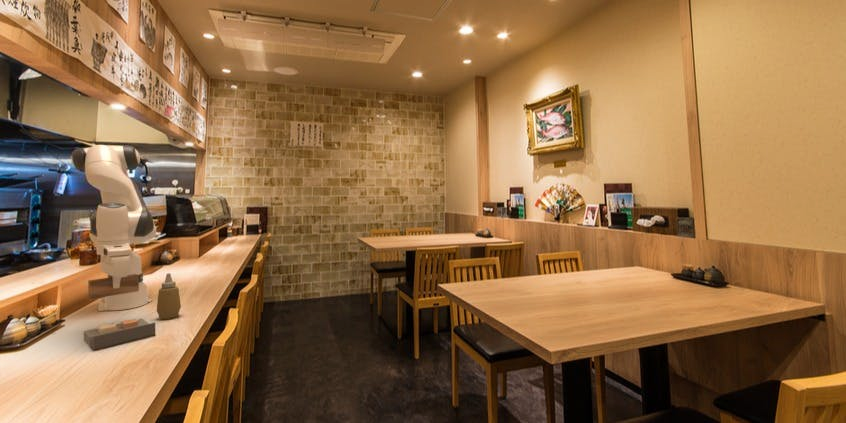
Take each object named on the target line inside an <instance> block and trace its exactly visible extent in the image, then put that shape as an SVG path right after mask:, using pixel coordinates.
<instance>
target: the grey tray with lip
mask: <svg viewBox="0 0 846 423" xmlns="http://www.w3.org/2000/svg"><path fill="white" fill-rule="evenodd" d="M136 320H137V321H138V326H133V327H129V328H123V327H121V322H120V323H116V324H115V325H116V326H117V330H116V331H111V332H107V333H102V334H101V333H100V332H99V331H98V327H97V328H93V329H88V330H85V331H83V340H84V342H85V343H86V344H87V345H88V346H89V347H90V348H91V350H92V351H94V352H96V351H100V350H103V349H108V348H113V347H115V346H120V345H124V344H127V343H131V342H135V341H139V340H144V339H148V338H151V337H155V336H156V322H148V321H146V320H145V319H143V318H139V319H136Z"/></svg>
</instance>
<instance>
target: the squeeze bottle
mask: <svg viewBox="0 0 846 423" xmlns="http://www.w3.org/2000/svg"><path fill="white" fill-rule="evenodd" d="M165 275H166V276H165V280H164V281H163V282H162V283H161V288H159V289H158V293H157V304H156V312H157V315H158V317H159V318H160V319H161V320H170V319H173V318H174V319H175V318H177V317H178V316H179V314H180V311H181V308H182V304H181V296H180V290H179V287H178V286H176V281H173V278H172V275H171V273H166V274H165Z"/></svg>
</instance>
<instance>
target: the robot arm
mask: <svg viewBox="0 0 846 423" xmlns="http://www.w3.org/2000/svg"><path fill="white" fill-rule="evenodd" d="M70 159H71V164H72V165H73V166H74V167H75V170H77V171H78V172H80V173H84V174H85V176H86V177H85V178H86V180H87V182H88V184H90V185H91V186H92V187H93V188H96V189H97V190H99V192H100V197H101V202H102V203H100V204H98V206H97V210H96V212H95V213H94V214H93V215H91V216H90V217H88V219H89V235H88V236H89V238H90V241H91V242H92V243H93V244H95V245H96V248H95V249H96V255H98V256H100V271H101V272H102V273H104V274H106V276H107V277H106V278H110V277H112V279H113V283H112V287H113V288H119V287H120V280H121V277H127V276H128V275H132V274H137V275H138V281H139V291H137V292H131V293H125V294H119V295H113V296H107V297H101V298H99V299H102V301H101V300H100V301H99V302H98V309H97V310H98V312H104V311H123V310H128V309H135V308H138V307H139V308H140V307H141V306H146V304H148V302H149V303H151V302H153V299H152V298H149V294H148V285H147V284H146V283H144V273H143V272H142V269H143V267H142V264H143V263H142V256H141V255H140V254H138V253H137V252H134V251H133V250H132V248H131V245H133V244H138V243H144V242H147V241H149V240H152V239H154V238H155V236H156V233H157V226H156V225H155V221H154V218H153V217H152V214H151V213H150V211H149V209H148V207H147V204H146V202H145V200H144V198H143V196H142V193H141V190H140V189H139V186H138V185H137V183H136V182H135V180H134V179H132V178H130V177H129V174H128V170H129V173H130V174H132V173H133V171H134V170H136V169H138V167H139V165H140V163H141V156H140V153H139V151H138V149H136V148H135V147H134V146H132V145H127V144H126V145H111V144H110V145H105V144H95V145H93V146H90V147H80V148H79V147H78V148H75V149H74V150H73V151H72V153H71V157H70Z"/></svg>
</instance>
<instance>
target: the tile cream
mask: <svg viewBox="0 0 846 423" xmlns="http://www.w3.org/2000/svg"><path fill="white" fill-rule="evenodd" d="M97 328H98V331H99V332H100V333H101V334H102V333H107V332H111V331H116V330H117V326H116V324H115V323H110V324H105V325H101V326H97Z"/></svg>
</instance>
